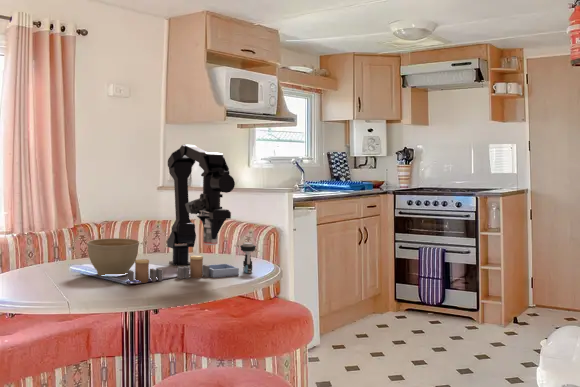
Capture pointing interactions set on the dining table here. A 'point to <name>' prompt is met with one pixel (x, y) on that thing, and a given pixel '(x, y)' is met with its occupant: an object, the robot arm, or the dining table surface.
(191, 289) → the dining table surface
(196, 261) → the tan cylinder
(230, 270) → the tray
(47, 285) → the dining table surface
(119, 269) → the planter bowl
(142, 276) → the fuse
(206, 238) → the pill bottle
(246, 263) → the push button
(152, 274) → the clip row
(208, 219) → the robot arm
